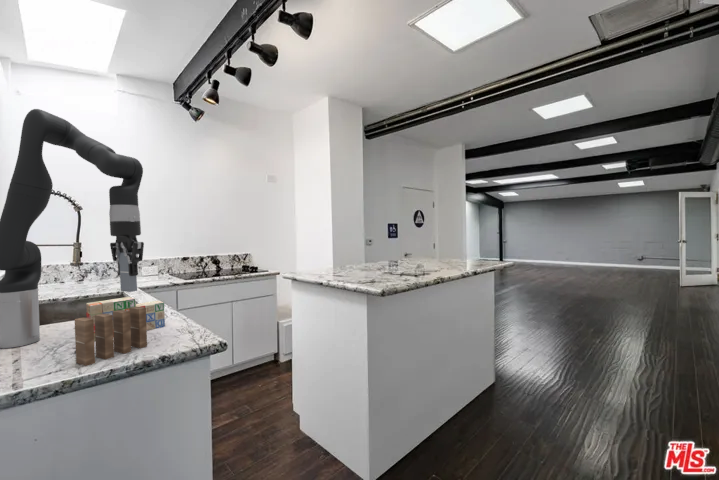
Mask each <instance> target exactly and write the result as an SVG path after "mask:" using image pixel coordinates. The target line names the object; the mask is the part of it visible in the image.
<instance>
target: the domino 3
mask: <svg viewBox="0 0 719 480" xmlns="http://www.w3.org/2000/svg"><path fill="white" fill-rule="evenodd" d="M129 253H132V252H129ZM131 259H132V256H131ZM119 264H120V275H119V281H120V292H124V293H125V292H127V293H130V292H131V293H132V292H137V291H138V282H137V281H138V280H137V275H136V276H129V268H128V264H129V263H128V259H127V257H125V255H124V253H121V252H120V259H119Z"/></svg>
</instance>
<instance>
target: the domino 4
mask: <svg viewBox="0 0 719 480" xmlns="http://www.w3.org/2000/svg"><path fill="white" fill-rule="evenodd" d="M113 335H114V338H113V341H114V353H118V354H119V353H120V354H122V355H124V354H128V353H130V352H132V346H131V326H130V311H125V310H116V311H113Z"/></svg>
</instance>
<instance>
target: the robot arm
mask: <svg viewBox="0 0 719 480" xmlns="http://www.w3.org/2000/svg"><path fill="white" fill-rule="evenodd" d="M21 127H22V128H21V135H20V141H19V147H18V154H17V159H16V163H15V166H14V170H13V173H12V177H11V179H10V183H9V186H8V190H7V194H6V197H5V203H4V205H3V208H2V212H1V215H0V271H4V275H3V277H2V278H1V279H0V349H10V348H11V349H12V348H18V347H22V346H23V347H24V346H27V345H31V344H35V343H36V342H39V341H40V337H41V333H40V332H41V331H40V307H39V306H40V304H39V303H40V302H39V282H40V281H41V278H42V253H41V250H40V247H39V246H38V244H36V243H35V242H32V241H29V240H27V238H28V234H29V231H30V229H31V227H32V225H33V224H34V223H35V221H36V220H37V219H38V218H39V217H40V216H41V214H42V213H43V212H44V211H45V209H46V208H47V206H48V204H49V201H50V198H51V194H52V191H53V185H54V184H53V181H52V177H51V175H50V172H49V171H48V169H47V166H46V164H45V162H44V158H43V157H44V156H43V147H44V143H47V144H51V145H53V146H56V147H57V146H58V147H62V148H66V149H69V150H72V151H74V152H75V153H76V154H77V155H78V156H79V157H80V158H82V159H83V160H85V162H88V163H91V164H92V165H94V166H95V168H96V169H98V170H99V172H101V173H102V174H104V175H105V176H108V177H111V178H118V179H122V183H121V184H120V185H113V186H111V187H110V188H109V189H108V191H109V192H108V193H109V197H108V198H109V213H108V214H109V234H110V236H111V237H116V238H115V242H109V243H110V244H109V247H110V251H111V256H112V261H113V262H116V264H117V267H118V268H117V269H118V270H117V271H118V275H119V276H120V264H119V259H120V252H121V253H124V255H125V257H127V259H128V263H129V264H128V268H129V276H136V277H137V276H138V274H139V271H138V270H139V269H138V268H139V267H138V264H139V263H140V262H142V261H143V259H144V258H143V256H144V245H145V243H144V242H143V241H138V238H137V236H141V235H142V229H141V227H142V226H141V213H140V208H139V196H138V195H139V194H138V193H139V189H140V186H141V182H142V179H143V173H144V168H143V165H142V163H141V162H140V160H138V159H137V158H135V157H131V156H127V155H123V154H120V153H116V151H115V150H114V149H113V148H111V147H109V146H107V145H106V144H105V143H103V142H100V141H98V140H96V139H94V138H92V137H89V136H88V135H86V134H85V133H83V132H82V131H80V129H78V128H77V127H76V126H74V125H73V124H72V123H71V122H69V121H68V120H66V119H65V118H62V117H59V116H58V115H55V114H53V113H50V112H49V111H45V110H42V109H39V108H33V109H31V110H30V111H28V112H27V114H26V115H25V117H24V119H23V123H22V126H21ZM129 252H132V253H129ZM131 256H132V259H131Z"/></svg>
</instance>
